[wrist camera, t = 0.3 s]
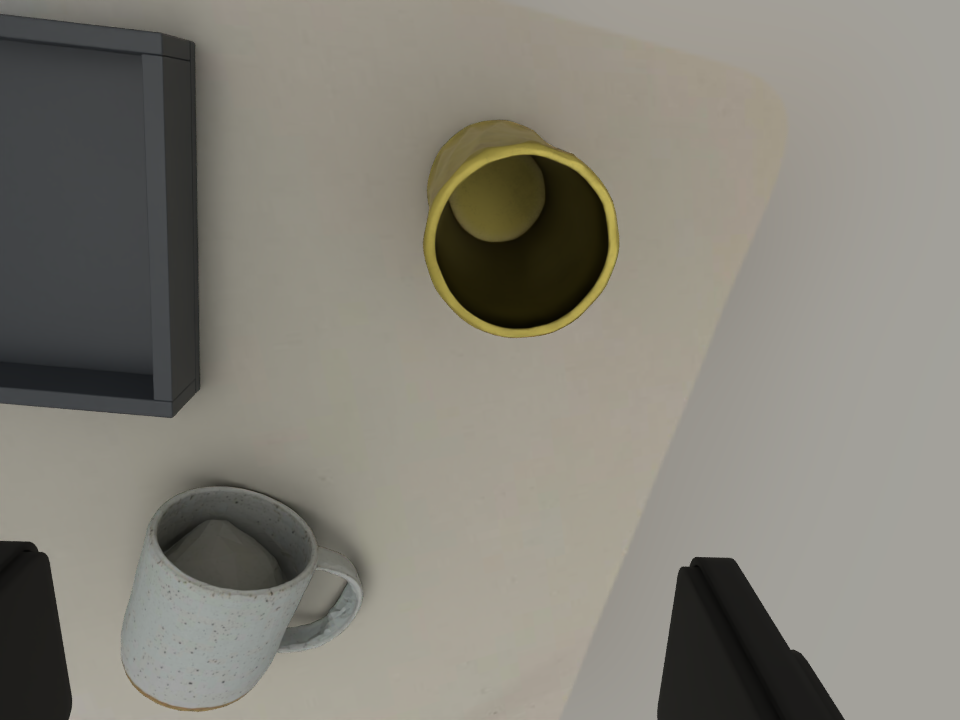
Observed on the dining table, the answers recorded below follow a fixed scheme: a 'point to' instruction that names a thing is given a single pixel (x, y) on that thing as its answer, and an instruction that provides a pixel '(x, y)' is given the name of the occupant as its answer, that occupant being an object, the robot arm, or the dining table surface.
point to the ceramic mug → (224, 596)
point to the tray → (97, 218)
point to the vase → (517, 231)
